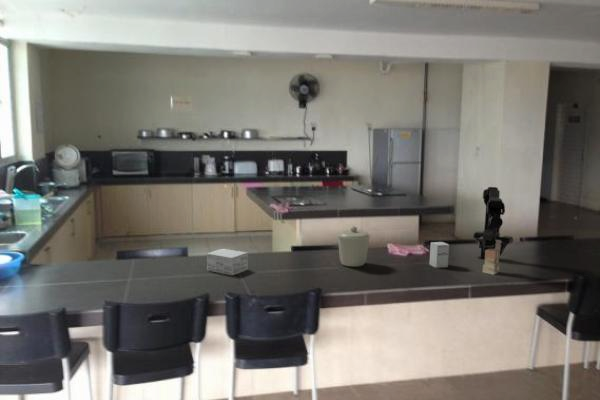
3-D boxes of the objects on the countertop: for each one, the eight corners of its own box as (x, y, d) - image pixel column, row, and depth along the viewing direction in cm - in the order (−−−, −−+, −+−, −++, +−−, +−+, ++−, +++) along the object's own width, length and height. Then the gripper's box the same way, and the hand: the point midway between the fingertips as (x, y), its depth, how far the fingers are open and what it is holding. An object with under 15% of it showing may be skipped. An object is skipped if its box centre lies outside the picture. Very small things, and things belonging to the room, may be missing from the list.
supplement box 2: (248, 269, 267) (248, 252, 266) (232, 276, 256) (232, 257, 254) (223, 264, 276) (222, 247, 274) (206, 270, 264) (206, 252, 263)
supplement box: (436, 268, 275) (437, 245, 273) (429, 264, 282) (430, 241, 280) (448, 267, 277) (449, 244, 275) (441, 263, 284) (442, 241, 282)
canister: (368, 270, 269) (369, 230, 266) (333, 267, 272) (334, 228, 269) (370, 261, 286) (371, 224, 283) (338, 259, 290) (339, 222, 287)
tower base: (487, 270, 273) (487, 262, 273) (498, 272, 269) (499, 265, 269) (482, 272, 269) (483, 265, 268) (493, 274, 265) (494, 267, 264)
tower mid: (488, 263, 272) (489, 255, 271) (498, 265, 268) (498, 257, 268) (484, 264, 269) (484, 257, 268) (493, 267, 265) (494, 259, 264)
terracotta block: (488, 255, 272) (489, 248, 271) (498, 257, 268) (498, 250, 268) (484, 257, 268) (485, 250, 267) (494, 259, 265) (494, 251, 264)
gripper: (469, 223, 266) (467, 252, 268) (505, 229, 253) (503, 259, 256) (479, 220, 274) (477, 249, 276) (514, 226, 261) (512, 255, 264)
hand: (491, 253), depth 268 cm, fingers open, 9 cm apart
